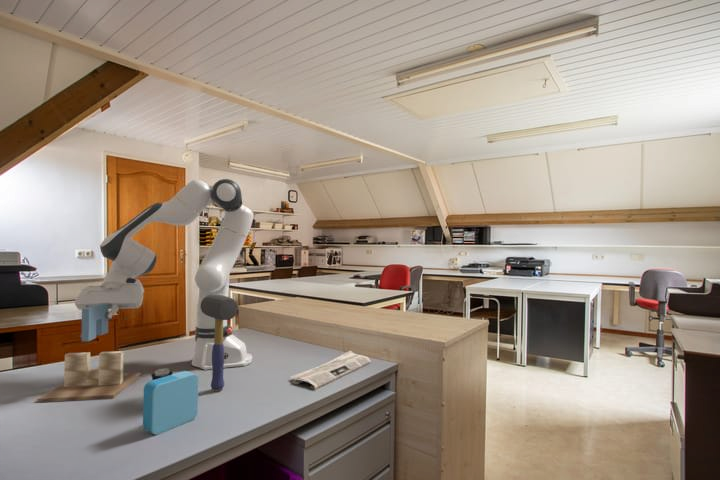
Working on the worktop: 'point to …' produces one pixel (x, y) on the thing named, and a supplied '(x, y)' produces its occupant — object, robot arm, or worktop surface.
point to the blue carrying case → (170, 402)
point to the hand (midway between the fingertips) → (102, 317)
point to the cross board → (88, 391)
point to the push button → (161, 373)
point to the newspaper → (332, 370)
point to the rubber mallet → (218, 332)
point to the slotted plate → (94, 321)
